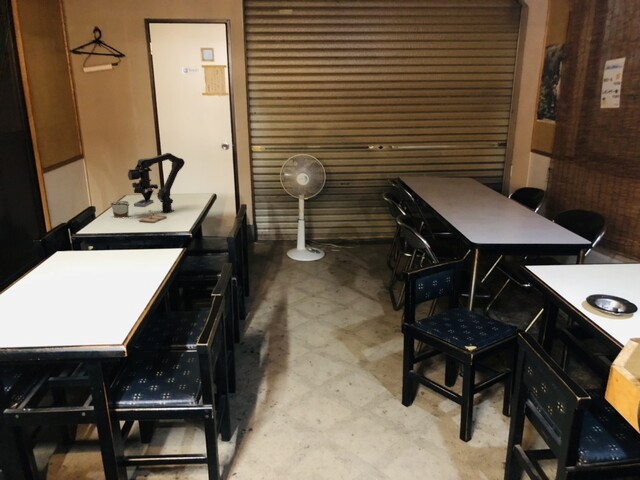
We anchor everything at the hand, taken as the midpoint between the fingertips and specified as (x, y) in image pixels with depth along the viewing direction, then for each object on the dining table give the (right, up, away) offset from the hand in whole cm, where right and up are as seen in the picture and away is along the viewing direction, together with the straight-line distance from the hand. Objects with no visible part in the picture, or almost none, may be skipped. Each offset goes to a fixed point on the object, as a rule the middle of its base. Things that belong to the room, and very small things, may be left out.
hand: (147, 201), depth 334 cm
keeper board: (+7, -13, -11) cm, 18 cm away
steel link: (-1, -2, -3) cm, 4 cm away
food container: (-16, -10, -1) cm, 19 cm away
